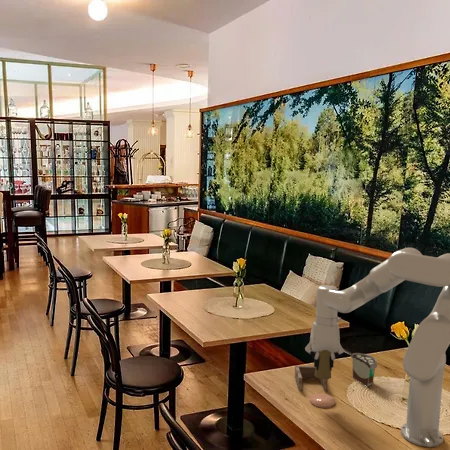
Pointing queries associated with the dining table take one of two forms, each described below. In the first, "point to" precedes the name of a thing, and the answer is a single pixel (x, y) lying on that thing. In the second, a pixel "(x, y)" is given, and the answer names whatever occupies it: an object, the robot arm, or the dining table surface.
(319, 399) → the terracotta coaster
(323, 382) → the walnut shelf bay
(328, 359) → the olive peg doll
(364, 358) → the food container
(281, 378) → the dining table surface
